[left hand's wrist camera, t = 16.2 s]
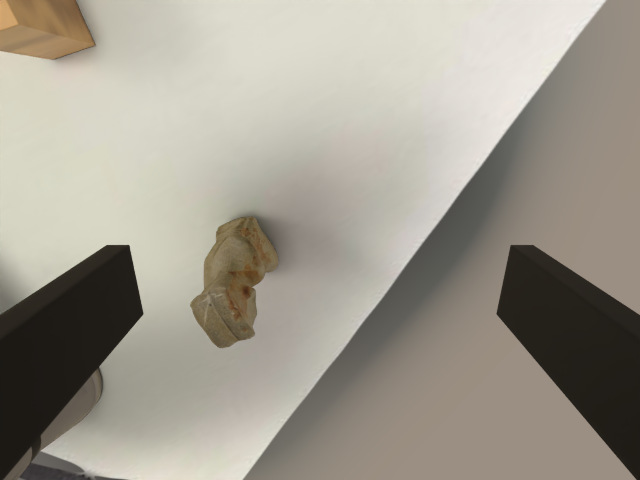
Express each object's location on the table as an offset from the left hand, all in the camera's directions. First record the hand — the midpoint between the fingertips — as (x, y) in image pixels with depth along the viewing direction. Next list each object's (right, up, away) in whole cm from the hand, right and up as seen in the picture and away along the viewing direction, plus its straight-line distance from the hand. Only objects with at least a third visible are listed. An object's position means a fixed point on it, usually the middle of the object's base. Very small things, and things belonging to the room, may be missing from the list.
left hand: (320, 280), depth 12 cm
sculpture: (-8, +1, +28) cm, 29 cm away
